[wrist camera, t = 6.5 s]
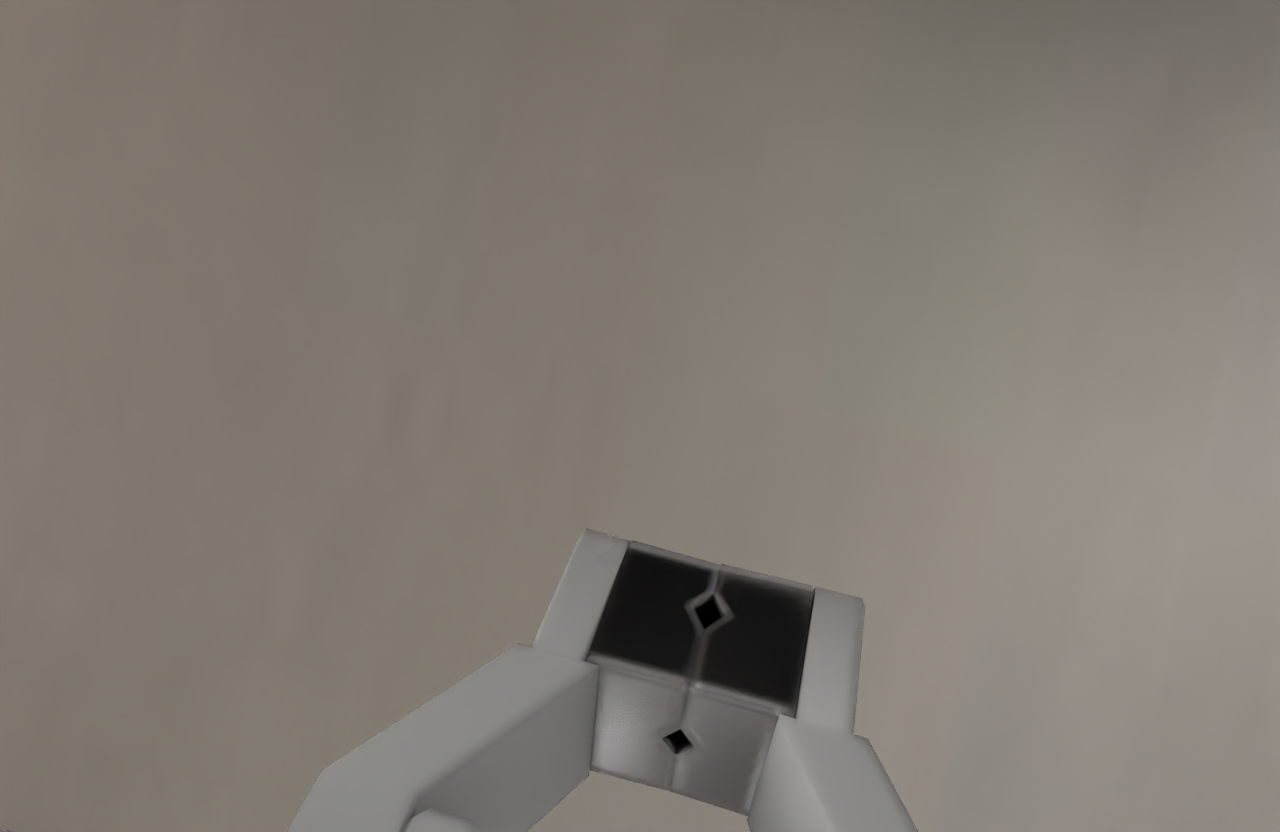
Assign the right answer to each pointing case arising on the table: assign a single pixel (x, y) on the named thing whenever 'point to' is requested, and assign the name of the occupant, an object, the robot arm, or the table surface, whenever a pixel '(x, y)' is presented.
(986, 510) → the table surface
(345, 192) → the table surface
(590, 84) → the table surface
